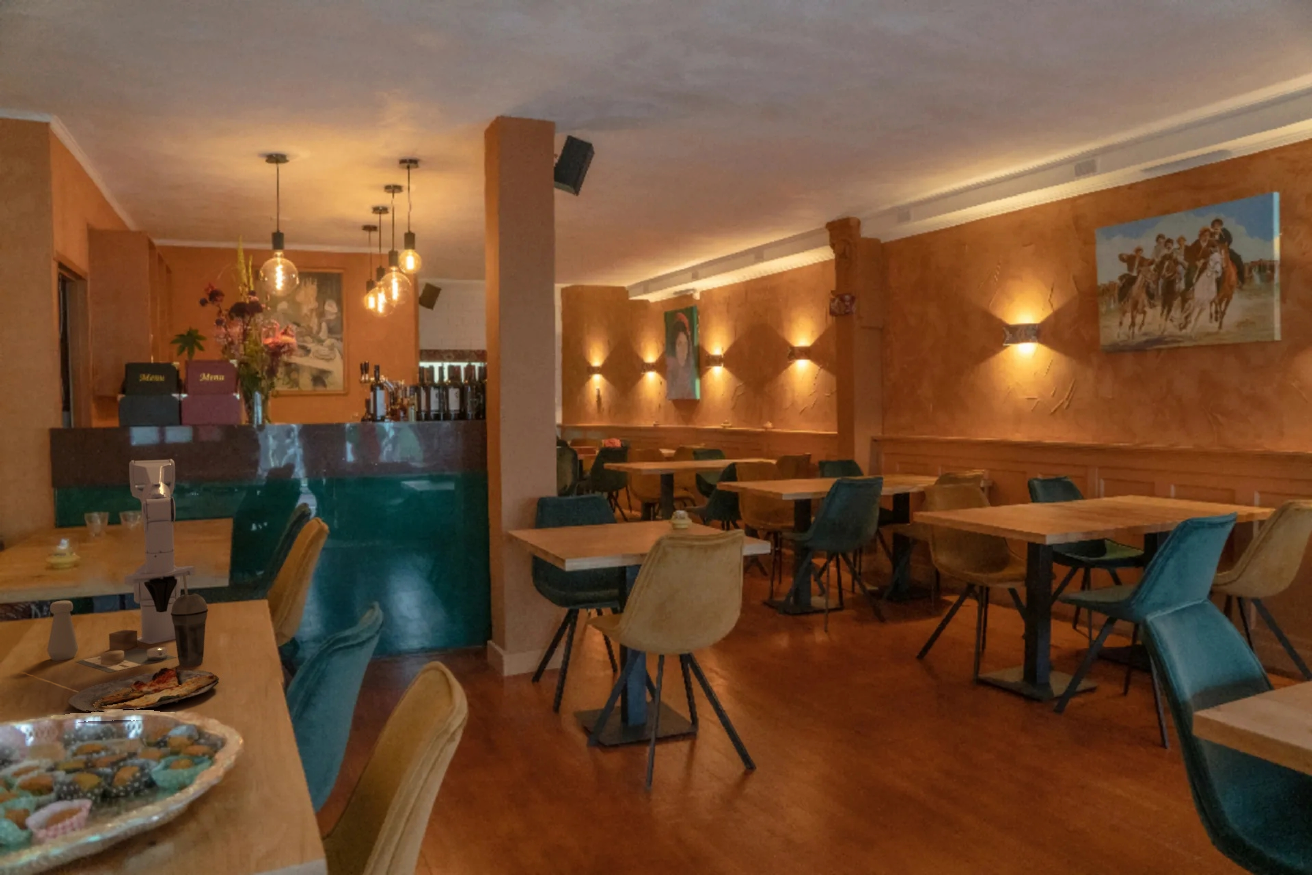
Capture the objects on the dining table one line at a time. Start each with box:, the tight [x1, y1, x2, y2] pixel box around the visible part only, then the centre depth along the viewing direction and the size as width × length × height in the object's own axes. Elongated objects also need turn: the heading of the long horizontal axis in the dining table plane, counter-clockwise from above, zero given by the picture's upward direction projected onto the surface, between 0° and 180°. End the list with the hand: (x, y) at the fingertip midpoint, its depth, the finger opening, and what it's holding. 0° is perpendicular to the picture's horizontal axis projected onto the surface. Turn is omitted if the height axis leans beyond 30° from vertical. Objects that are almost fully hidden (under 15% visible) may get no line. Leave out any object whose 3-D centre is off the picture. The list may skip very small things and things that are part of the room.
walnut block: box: [108, 629, 139, 651], centre depth 214 cm, size 4×4×4 cm
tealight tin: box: [147, 646, 169, 661], centre depth 203 cm, size 4×4×2 cm
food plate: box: [68, 666, 220, 712], centre depth 175 cm, size 25×23×4 cm
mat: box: [75, 647, 178, 674], centre depth 203 cm, size 14×16×1 cm
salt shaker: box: [46, 600, 79, 662], centre depth 205 cm, size 6×6×13 cm
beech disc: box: [100, 650, 125, 665], centre depth 200 cm, size 4×4×2 cm
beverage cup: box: [171, 574, 209, 668], centre depth 198 cm, size 7×7×20 cm
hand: (161, 611), depth 207 cm, fingers closed
